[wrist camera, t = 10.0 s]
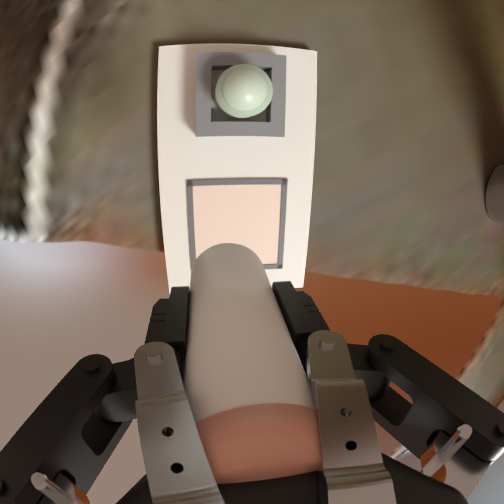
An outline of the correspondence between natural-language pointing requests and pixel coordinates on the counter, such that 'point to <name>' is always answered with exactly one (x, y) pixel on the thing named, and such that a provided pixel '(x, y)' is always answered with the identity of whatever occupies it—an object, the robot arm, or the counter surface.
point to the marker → (245, 373)
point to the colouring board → (235, 159)
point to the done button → (243, 91)
